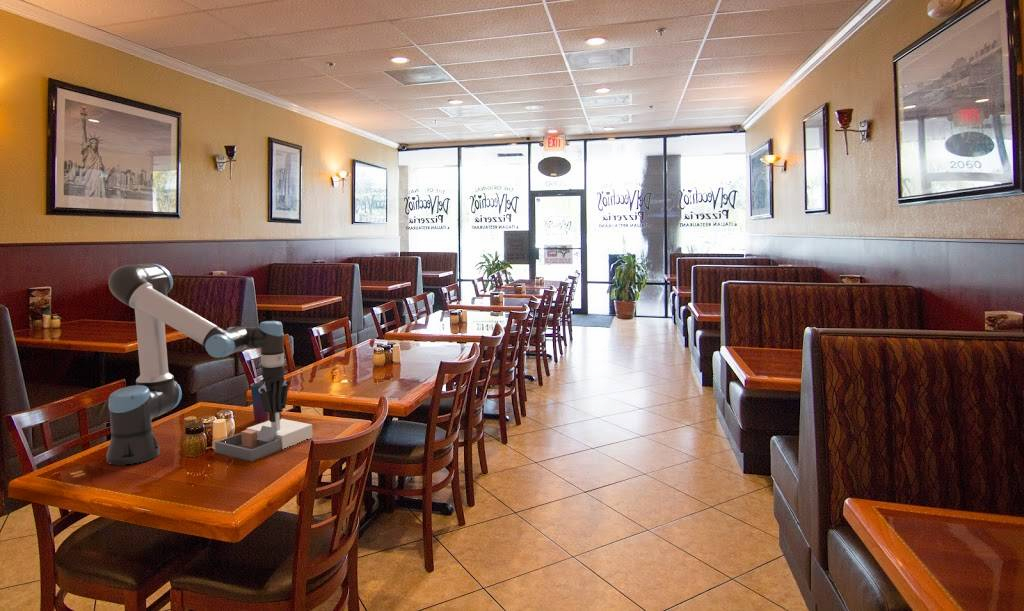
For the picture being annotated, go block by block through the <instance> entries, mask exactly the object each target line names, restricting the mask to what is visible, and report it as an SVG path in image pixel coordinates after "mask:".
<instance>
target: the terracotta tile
mask: <svg viewBox="0 0 1024 611" xmlns="http://www.w3.org/2000/svg"><path fill="white" fill-rule="evenodd" d="M240 433H241V439H242V445H243V446H248V447H254V446H257V432H256V431H252V430H247V429H245V430H241V431H240Z"/></svg>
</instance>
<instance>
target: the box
mask: <svg viewBox="0 0 1024 611" xmlns="http://www.w3.org/2000/svg"><path fill="white" fill-rule="evenodd" d="M257 437H258V435H257ZM225 438H226V439H225ZM225 438H223V439H224V440H222V439H220V440H216V441H214V453H215V454H216V453H217V454H218V455H222V456H224V457H229V456H230V458H232V459H233V458H234V459H237V460H240V461H245V460H246V462H249V461H250V463H254V462H256V461H258V459H259V460H261V459H263V458H266V457H268V456H271V455H273V454H275V453H274V452H276V453H278V452H280V451H279V450H281V451H282V449H280V439H275V438H274V439H273V441H272V442H270V443H266V442H261V441H259V440H257V446H254V447H248V446H243V445H242V439H241V432H240V433H236V434H234V435H231V436H228V437H225ZM225 441H226V443H225ZM277 451H278V452H277ZM272 453H273V454H272ZM270 454H271V455H270ZM265 456H266V457H265ZM260 458H261V459H260ZM255 460H256V461H255ZM253 461H254V462H253Z"/></svg>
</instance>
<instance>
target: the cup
mask: <svg viewBox="0 0 1024 611" xmlns="http://www.w3.org/2000/svg"><path fill="white" fill-rule="evenodd" d="M262 383H263V381H261V382H260V381H259V382H254V383H253V382H252V383H251V384H250V393H251V401H252V409H253V419H254V422H255V421H264V422H266V421H265V420H267V421H269V413H266V412H264V409H263V405H262V402H261V398H260V394H259V393H258V391H257V388H260V387H261V386H262V385H263V384H262Z"/></svg>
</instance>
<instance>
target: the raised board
mask: <svg viewBox="0 0 1024 611" xmlns="http://www.w3.org/2000/svg"><path fill="white" fill-rule="evenodd" d="M262 426H267V427H271V422H270V419H268V420H267V421H264V422H259V423H258V424H254V425H253V426H249V427H246V430H252V431H256V432H257V435H258V434H259V432H260V430H261V428H262ZM313 435H314V434H313V424H312V423H308V422H307V423H306V422H301V421H297V420H291V419H286V418H281V420H280V430H279V431H277V432H276V434H275V437H274V438H275V439H280V449H281V450H282V449H283V450H285V449H284V448H286V449H287V447H288V448H290V447H289V446H291V447H292V445H293V446H296V445H298V444H300V443H302V442H301V441H303V440H305V441H307V440H306V439H308V440H309V439H312V437H313ZM299 442H300V443H299ZM303 442H304V441H303ZM297 443H298V444H297Z"/></svg>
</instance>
